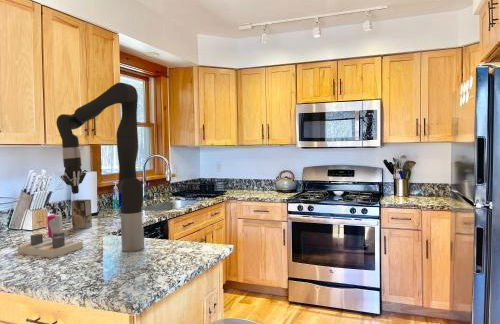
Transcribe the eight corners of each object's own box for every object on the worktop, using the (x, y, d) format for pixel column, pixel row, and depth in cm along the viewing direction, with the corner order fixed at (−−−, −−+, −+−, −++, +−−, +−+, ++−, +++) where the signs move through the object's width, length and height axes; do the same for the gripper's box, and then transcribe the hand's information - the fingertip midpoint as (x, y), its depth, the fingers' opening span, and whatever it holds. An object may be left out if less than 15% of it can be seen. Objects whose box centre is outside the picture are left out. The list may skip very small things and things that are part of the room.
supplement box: (63, 234, 196) (62, 213, 195) (60, 237, 190) (59, 215, 190) (51, 235, 195) (50, 214, 194) (48, 238, 189) (47, 216, 188)
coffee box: (92, 226, 216) (91, 199, 215) (86, 228, 210) (85, 201, 209) (78, 226, 217) (77, 199, 216) (71, 228, 211) (70, 201, 210)
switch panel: (49, 243, 179) (49, 237, 179) (82, 247, 170) (82, 241, 170) (17, 252, 164) (17, 245, 164) (52, 257, 156) (52, 250, 155)
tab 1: (38, 244, 171) (37, 233, 170) (42, 245, 169) (42, 234, 169) (31, 246, 167) (30, 235, 167) (35, 247, 166) (35, 235, 166)
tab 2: (60, 242, 173) (59, 231, 173) (64, 243, 172) (64, 232, 172) (53, 244, 170) (53, 233, 170) (58, 245, 169) (57, 234, 169)
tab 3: (59, 247, 165) (59, 236, 165) (64, 248, 164) (64, 236, 164) (52, 249, 162) (52, 237, 162) (57, 250, 161) (57, 238, 160)
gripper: (77, 156, 178) (81, 191, 180) (53, 158, 166) (57, 195, 168) (89, 155, 175) (92, 191, 177) (65, 158, 163) (69, 196, 165)
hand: (75, 193), depth 172 cm, fingers closed
